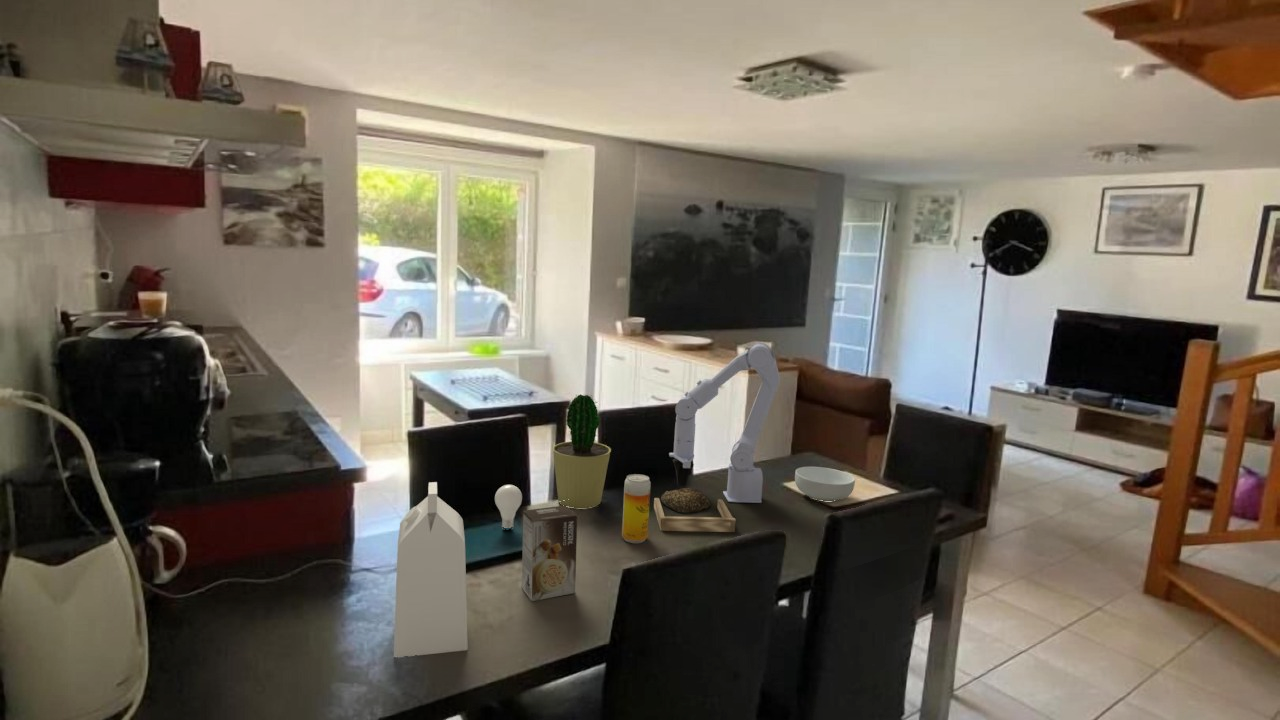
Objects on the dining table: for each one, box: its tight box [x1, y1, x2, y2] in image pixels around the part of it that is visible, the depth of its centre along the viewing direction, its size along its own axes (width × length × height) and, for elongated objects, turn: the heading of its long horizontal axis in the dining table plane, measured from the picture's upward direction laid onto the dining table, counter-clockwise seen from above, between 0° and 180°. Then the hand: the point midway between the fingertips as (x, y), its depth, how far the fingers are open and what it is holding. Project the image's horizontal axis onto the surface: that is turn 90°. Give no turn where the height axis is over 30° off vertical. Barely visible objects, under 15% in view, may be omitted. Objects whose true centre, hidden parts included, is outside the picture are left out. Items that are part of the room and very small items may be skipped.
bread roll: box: [660, 487, 711, 513], centre depth 187 cm, size 13×12×5 cm
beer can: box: [621, 473, 652, 544], centre depth 161 cm, size 6×6×15 cm
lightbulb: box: [494, 484, 523, 528], centre depth 163 cm, size 6×6×11 cm
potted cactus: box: [552, 394, 612, 508], centre depth 183 cm, size 15×15×30 cm
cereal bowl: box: [794, 466, 856, 501], centre depth 198 cm, size 17×17×7 cm
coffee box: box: [521, 505, 578, 602], centre depth 134 cm, size 9×6×16 cm
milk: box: [393, 481, 469, 659], centre depth 116 cm, size 12×12×26 cm
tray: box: [653, 497, 737, 533], centre depth 177 cm, size 18×16×3 cm
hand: (681, 485), depth 197 cm, fingers closed
